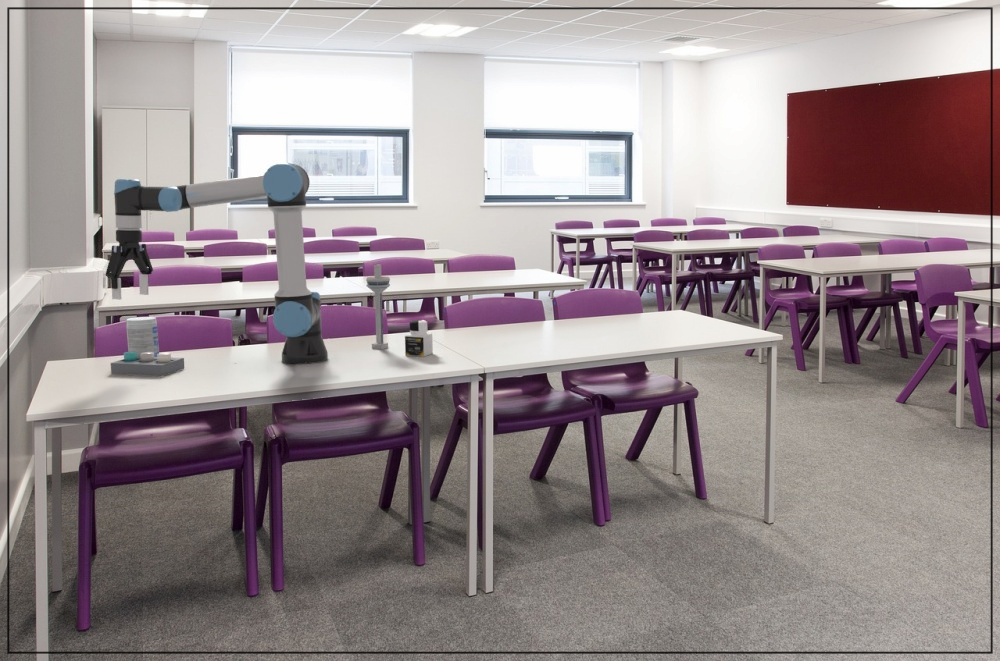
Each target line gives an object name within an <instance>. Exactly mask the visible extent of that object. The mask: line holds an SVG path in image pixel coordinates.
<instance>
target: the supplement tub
mask: <svg viewBox="0 0 1000 661" xmlns="http://www.w3.org/2000/svg"><path fill="white" fill-rule="evenodd" d="M157 323H158V322H157V317H156V316H155V317H154V316H138V317H137V316H136V317H128V318H126V327H125V328H126V337H127V338H126V339H127V349H128V350H127V352H137V356H140V354H141V353H145V352H153V353H154V357H157V354H159V353H160V347H159V346H160V345H159V333H158V324H157Z"/></svg>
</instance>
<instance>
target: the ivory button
mask: <svg viewBox="0 0 1000 661" xmlns="http://www.w3.org/2000/svg"><path fill="white" fill-rule="evenodd" d="M157 357H158V363H168V362H171V357H172V354H171V352H159V354H157Z"/></svg>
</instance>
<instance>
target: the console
mask: <svg viewBox="0 0 1000 661" xmlns="http://www.w3.org/2000/svg"><path fill="white" fill-rule="evenodd" d="M184 368H185V358H184V357H174V356H173V357H172V356H171V362H168V363H158V357H154V361H152V362H141V356H138V360H136V361H133V362H132V361H124V358H123V359H120V360H117V361H116V360H115V361H113V362H110V371H111V372H110V373H111V375H122V376H123V375H126V376H127V375H128V376H129V375H130V376H147V377H148V376H149V377H150V376H152V377H165V376H168V375H170V374H173V373H176V372H179V371H181V370H182V371H183V370H185V369H184Z"/></svg>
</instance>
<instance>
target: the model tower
mask: <svg viewBox="0 0 1000 661" xmlns="http://www.w3.org/2000/svg"><path fill="white" fill-rule="evenodd" d="M373 271H374V272H373V273H374V274H373V275H374V276H367V277H366V280H365V281H366V287H367V288H369V289H370V291H372V292H373V293H374V303H375V305H374V306H375V307H374V309H375V311H374V312H375V338H376V339H375V340H376V342H374V343H371V349H372V348H374V349H373V350H375V349H376V350H383V349H387V347H388V348H389V342H384V321H383V320H384V319H383V314H384V313H383V311H384V310H383V292H384V291H386V290H387V289H388V288H389V287H391V284H390V280H391V279H390V277H389V276H382V264H374V265H373Z"/></svg>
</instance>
